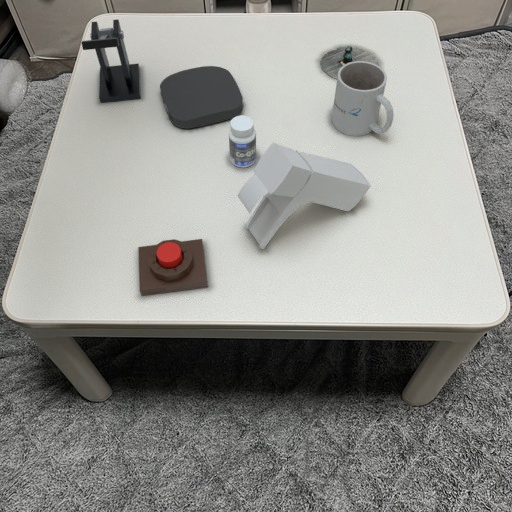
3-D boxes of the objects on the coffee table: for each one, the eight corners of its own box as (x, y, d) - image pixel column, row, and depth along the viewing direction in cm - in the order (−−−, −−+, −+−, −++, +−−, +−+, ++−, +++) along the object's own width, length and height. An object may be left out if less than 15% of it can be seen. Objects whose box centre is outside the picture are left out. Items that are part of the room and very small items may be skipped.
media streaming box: (248, 116, 100) (248, 104, 97) (175, 134, 97) (172, 121, 95) (225, 72, 108) (225, 59, 105) (157, 87, 105) (155, 75, 103)
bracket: (140, 98, 103) (126, 40, 93) (100, 102, 103) (81, 45, 92) (139, 68, 109) (126, 10, 98) (101, 72, 108) (83, 14, 98)
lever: (119, 50, 88) (116, 35, 87) (83, 53, 88) (80, 38, 87) (125, 40, 99) (122, 26, 98) (93, 43, 98) (90, 29, 97)
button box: (141, 296, 77) (137, 284, 75) (140, 253, 82) (136, 240, 79) (207, 287, 78) (205, 274, 75) (203, 244, 83) (200, 231, 80)
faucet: (373, 185, 83) (294, 164, 68) (312, 255, 91) (230, 250, 76) (350, 161, 86) (270, 135, 72) (294, 231, 94) (211, 220, 79)
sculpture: (312, 73, 108) (322, 33, 105) (323, 79, 116) (333, 42, 114) (367, 86, 104) (379, 45, 102) (375, 91, 112) (386, 53, 110)
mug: (322, 114, 100) (328, 70, 92) (359, 100, 102) (368, 55, 94) (359, 154, 94) (368, 110, 85) (397, 138, 96) (410, 93, 88)
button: (159, 270, 76) (156, 263, 75) (157, 250, 78) (155, 243, 77) (183, 266, 77) (181, 260, 75) (181, 247, 79) (180, 240, 77)
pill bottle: (236, 171, 92) (234, 135, 85) (226, 154, 94) (223, 118, 87) (260, 163, 93) (260, 127, 86) (249, 146, 95) (248, 110, 88)
